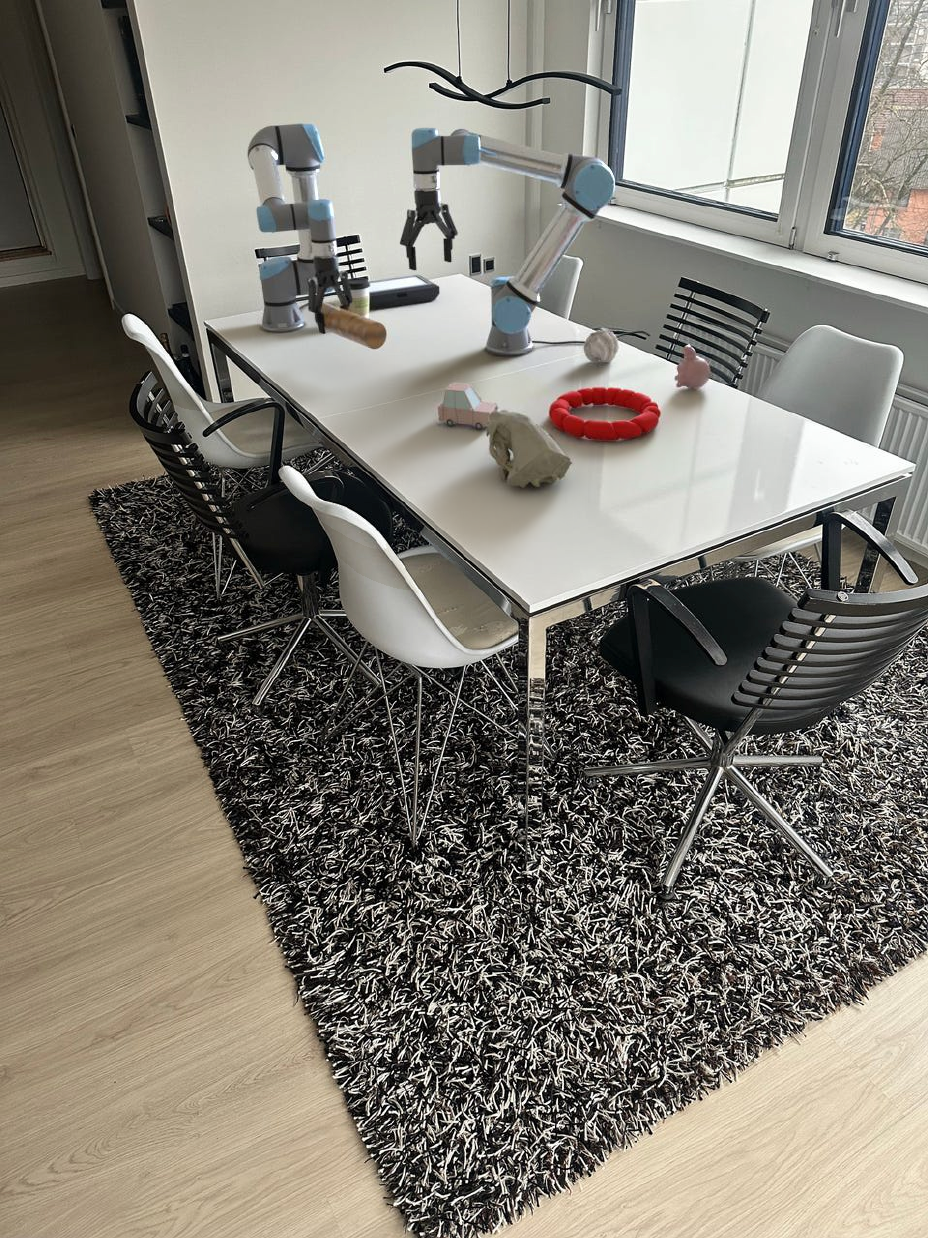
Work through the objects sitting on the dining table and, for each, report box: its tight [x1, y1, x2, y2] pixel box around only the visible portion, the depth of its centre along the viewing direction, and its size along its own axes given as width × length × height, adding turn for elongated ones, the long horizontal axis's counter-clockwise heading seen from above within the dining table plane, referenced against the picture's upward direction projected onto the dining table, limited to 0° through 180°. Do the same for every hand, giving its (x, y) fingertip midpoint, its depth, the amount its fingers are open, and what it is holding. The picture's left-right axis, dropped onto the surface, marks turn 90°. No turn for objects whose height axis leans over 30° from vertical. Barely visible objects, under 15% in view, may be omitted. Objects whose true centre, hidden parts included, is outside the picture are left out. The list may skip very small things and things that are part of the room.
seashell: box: [582, 329, 620, 363], centre depth 282 cm, size 10×15×10 cm
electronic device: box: [368, 274, 440, 311], centre depth 349 cm, size 32×6×20 cm
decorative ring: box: [548, 386, 661, 442], centre depth 242 cm, size 7×30×30 cm
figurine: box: [674, 344, 711, 390], centre depth 259 cm, size 9×11×12 cm
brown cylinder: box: [315, 302, 387, 350], centre depth 278 cm, size 28×8×8 cm, turn 40°
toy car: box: [437, 382, 499, 431], centre depth 243 cm, size 9×15×10 cm, turn 70°
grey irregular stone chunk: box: [485, 409, 573, 489], centre depth 216 cm, size 17×25×20 cm
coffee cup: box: [348, 277, 370, 319], centre depth 323 cm, size 10×10×15 cm
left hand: (333, 329), depth 286 cm, fingers closed on brown cylinder, 8 cm apart
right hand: (430, 265), depth 270 cm, fingers open, 13 cm apart
